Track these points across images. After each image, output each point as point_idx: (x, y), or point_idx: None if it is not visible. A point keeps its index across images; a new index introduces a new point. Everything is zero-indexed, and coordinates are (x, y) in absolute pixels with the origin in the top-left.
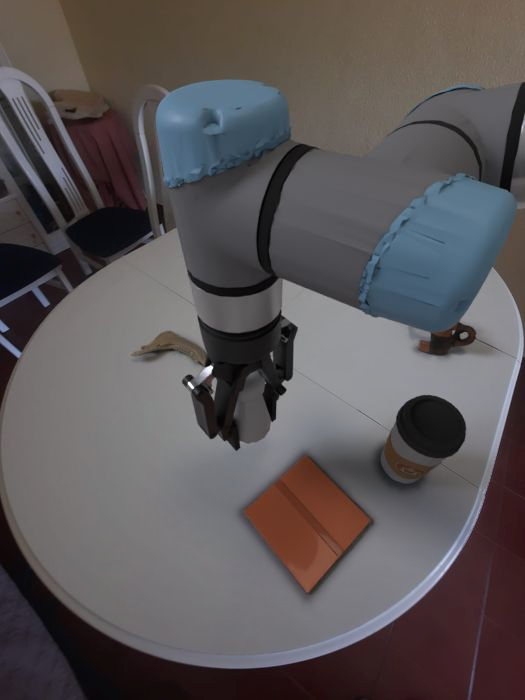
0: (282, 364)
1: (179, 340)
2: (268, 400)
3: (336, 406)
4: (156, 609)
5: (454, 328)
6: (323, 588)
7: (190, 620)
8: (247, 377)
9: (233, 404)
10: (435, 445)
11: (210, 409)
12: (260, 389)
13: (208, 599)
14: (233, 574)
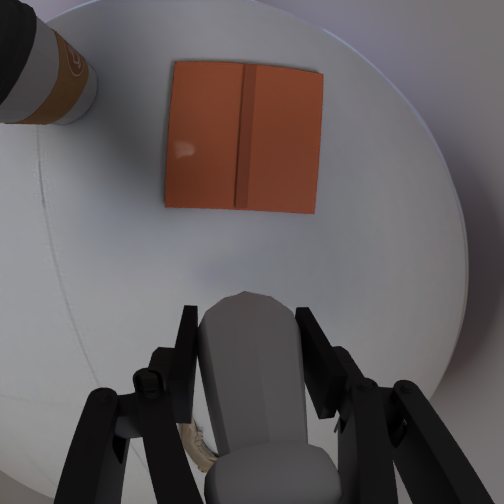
0: (108, 470)
1: (200, 460)
2: (191, 370)
3: (63, 235)
4: (440, 211)
5: None
6: (300, 63)
7: (427, 174)
8: None
9: (370, 465)
10: (9, 8)
11: (463, 482)
12: (267, 484)
13: (407, 172)
14: (374, 166)
